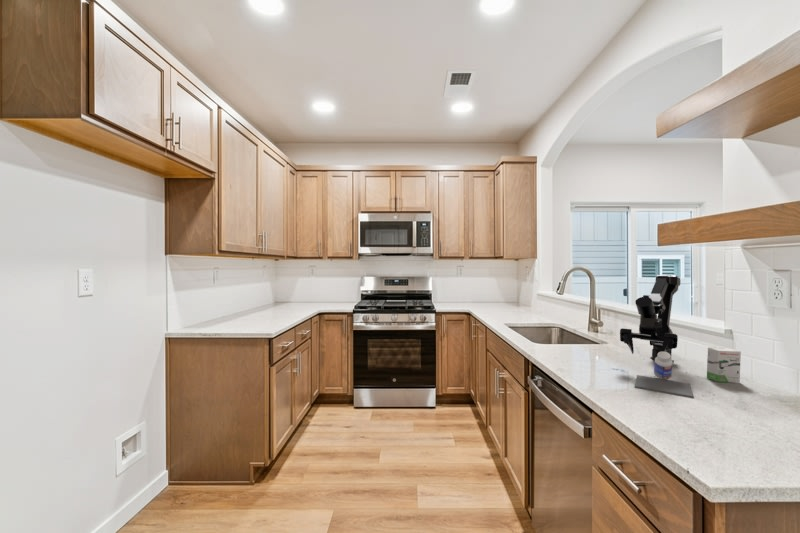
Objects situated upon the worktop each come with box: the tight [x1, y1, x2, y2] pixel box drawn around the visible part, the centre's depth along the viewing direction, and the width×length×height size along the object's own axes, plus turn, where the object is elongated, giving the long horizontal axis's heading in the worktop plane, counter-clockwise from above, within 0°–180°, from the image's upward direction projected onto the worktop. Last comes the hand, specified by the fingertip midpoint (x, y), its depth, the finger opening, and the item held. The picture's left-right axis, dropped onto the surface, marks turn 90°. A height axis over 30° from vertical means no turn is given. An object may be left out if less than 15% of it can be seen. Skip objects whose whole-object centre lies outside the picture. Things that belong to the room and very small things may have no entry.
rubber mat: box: [634, 374, 695, 399], centre depth 128 cm, size 16×16×1 cm
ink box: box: [706, 346, 742, 384], centre depth 137 cm, size 9×5×12 cm, turn 87°
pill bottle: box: [653, 352, 674, 380], centre depth 135 cm, size 5×5×10 cm
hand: (646, 355), depth 140 cm, fingers open, 9 cm apart
